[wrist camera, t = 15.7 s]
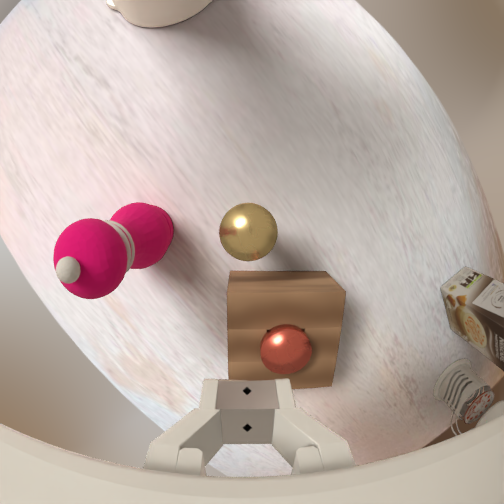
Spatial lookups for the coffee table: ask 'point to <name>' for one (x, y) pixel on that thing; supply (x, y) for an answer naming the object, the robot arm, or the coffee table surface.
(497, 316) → the coffee box
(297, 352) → the red round-headed grey cylinder
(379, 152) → the coffee table surface
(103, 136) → the coffee table surface
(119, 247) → the pepper mill
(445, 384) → the french press
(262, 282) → the hitch block
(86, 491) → the robot arm
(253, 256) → the brass pin
